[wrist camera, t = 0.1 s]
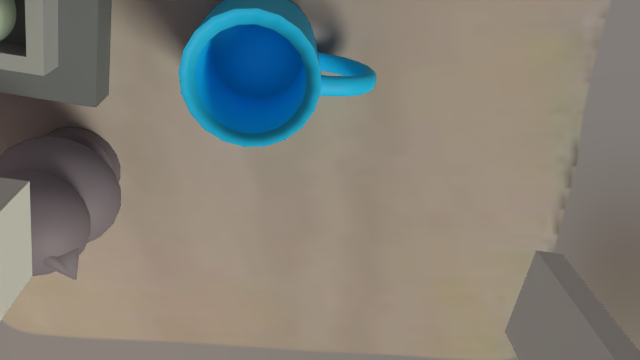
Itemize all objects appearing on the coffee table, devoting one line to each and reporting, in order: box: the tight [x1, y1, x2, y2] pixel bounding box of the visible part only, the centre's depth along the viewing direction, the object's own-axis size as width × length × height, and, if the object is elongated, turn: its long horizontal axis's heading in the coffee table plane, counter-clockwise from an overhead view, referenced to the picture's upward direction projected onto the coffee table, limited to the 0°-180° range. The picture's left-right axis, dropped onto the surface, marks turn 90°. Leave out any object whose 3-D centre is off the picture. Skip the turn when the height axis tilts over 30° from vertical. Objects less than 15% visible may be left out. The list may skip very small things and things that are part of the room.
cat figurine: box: [0, 127, 121, 280], centre depth 38 cm, size 8×8×12 cm
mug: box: [179, 0, 376, 147], centre depth 37 cm, size 12×8×8 cm
